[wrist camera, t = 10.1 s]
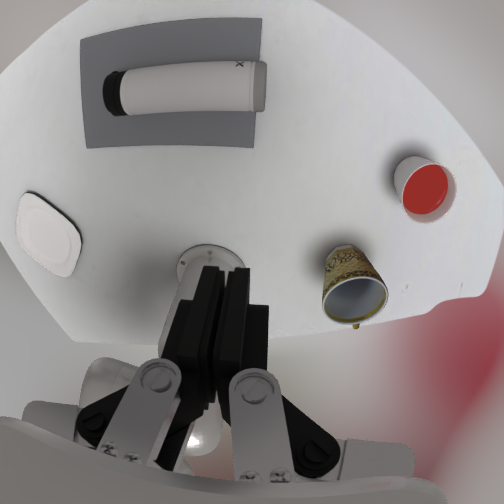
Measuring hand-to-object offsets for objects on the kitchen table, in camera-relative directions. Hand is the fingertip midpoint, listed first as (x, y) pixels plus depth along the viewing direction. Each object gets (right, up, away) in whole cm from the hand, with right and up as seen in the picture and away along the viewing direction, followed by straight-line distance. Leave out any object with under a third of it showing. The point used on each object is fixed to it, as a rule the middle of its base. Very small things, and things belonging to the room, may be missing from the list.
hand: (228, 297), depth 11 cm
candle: (+25, +13, +27) cm, 39 cm away
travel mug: (+3, +21, +18) cm, 28 cm away
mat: (-11, +24, +22) cm, 34 cm away
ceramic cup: (+17, -1, +38) cm, 41 cm away
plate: (-42, +5, +39) cm, 57 cm away
